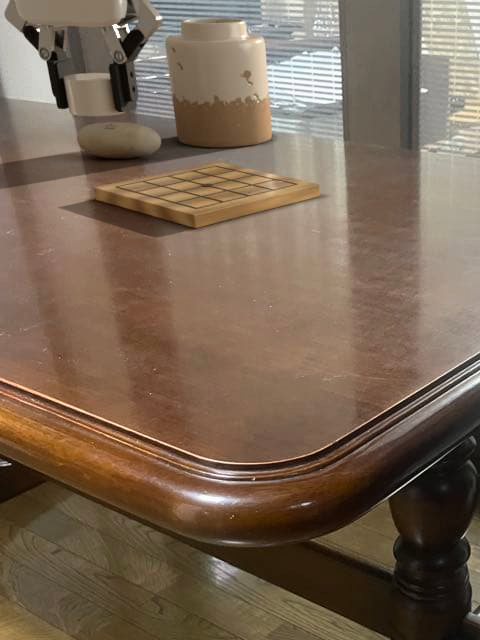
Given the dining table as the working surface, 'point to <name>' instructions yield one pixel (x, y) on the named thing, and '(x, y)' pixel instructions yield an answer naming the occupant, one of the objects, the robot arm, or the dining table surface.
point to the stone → (118, 140)
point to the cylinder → (90, 94)
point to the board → (206, 193)
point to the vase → (219, 84)
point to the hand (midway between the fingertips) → (97, 106)
